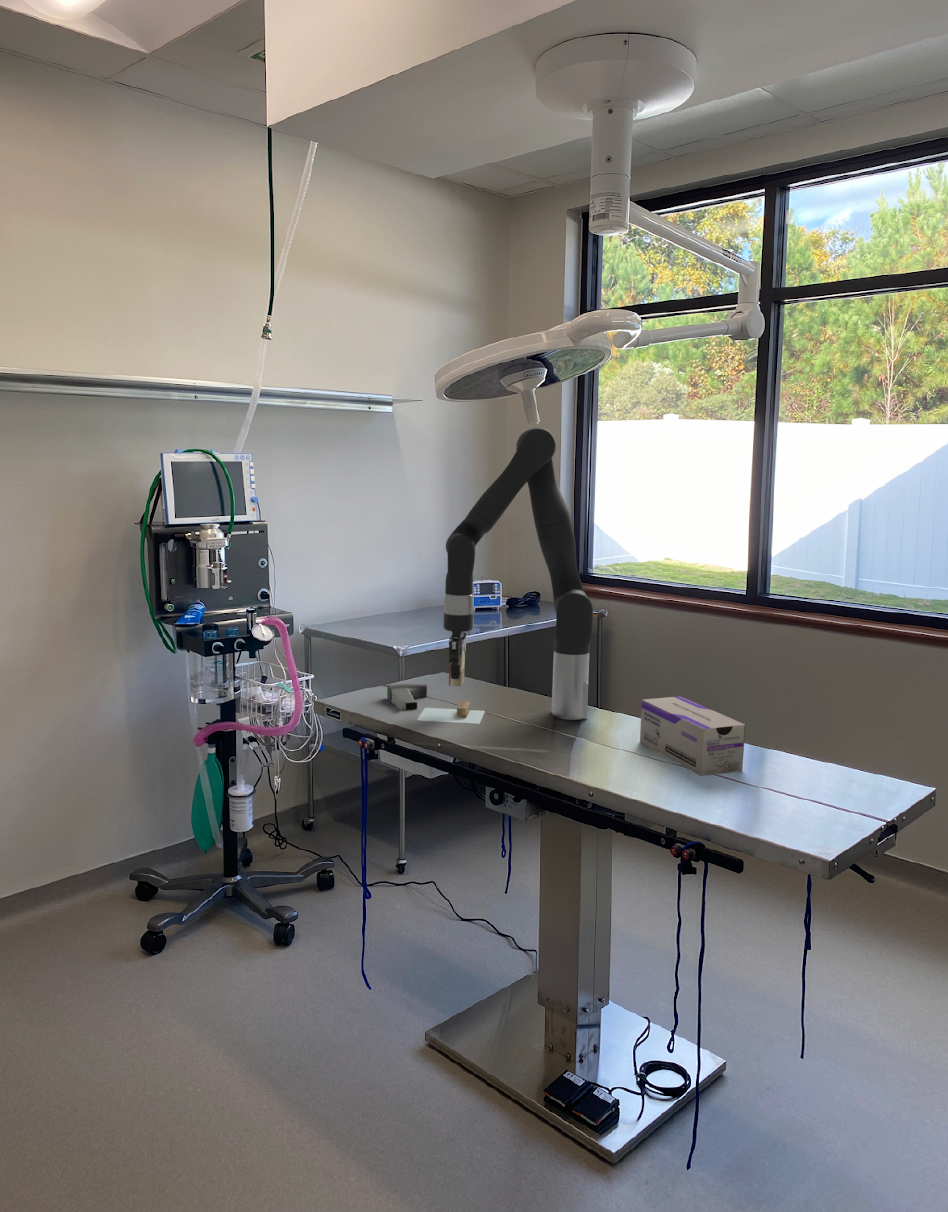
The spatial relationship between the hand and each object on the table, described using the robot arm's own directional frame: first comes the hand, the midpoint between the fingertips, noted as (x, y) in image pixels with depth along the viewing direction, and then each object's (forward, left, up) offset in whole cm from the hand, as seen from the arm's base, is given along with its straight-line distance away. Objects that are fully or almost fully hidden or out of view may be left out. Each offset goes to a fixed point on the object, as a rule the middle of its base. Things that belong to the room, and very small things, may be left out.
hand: (456, 675), depth 240 cm
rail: (-2, 0, -11) cm, 11 cm away
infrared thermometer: (+13, -10, -11) cm, 20 cm away
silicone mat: (+1, +2, -11) cm, 11 cm away
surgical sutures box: (-57, +22, -11) cm, 62 cm away
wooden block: (0, 0, -2) cm, 2 cm away
